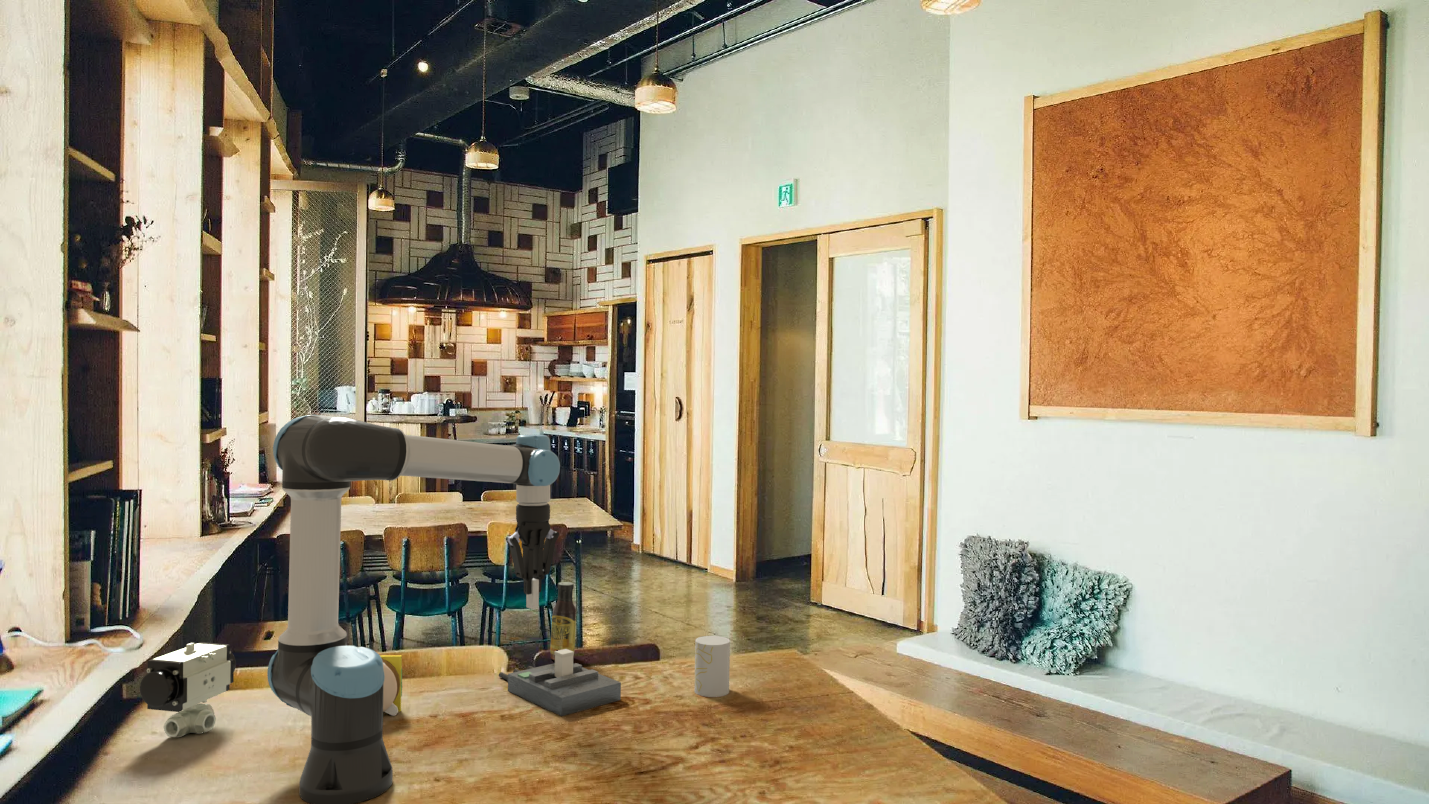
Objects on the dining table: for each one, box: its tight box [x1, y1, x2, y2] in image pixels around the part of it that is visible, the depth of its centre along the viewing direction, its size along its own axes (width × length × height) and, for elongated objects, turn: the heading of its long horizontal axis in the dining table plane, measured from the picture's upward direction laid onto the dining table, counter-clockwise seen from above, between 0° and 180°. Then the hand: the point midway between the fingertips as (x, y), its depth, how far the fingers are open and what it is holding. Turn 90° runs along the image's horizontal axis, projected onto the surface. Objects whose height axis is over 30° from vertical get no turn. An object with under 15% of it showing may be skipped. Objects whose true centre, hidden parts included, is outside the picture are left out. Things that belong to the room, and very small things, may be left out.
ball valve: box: [139, 641, 237, 738], centre depth 184 cm, size 18×8×18 cm, turn 168°
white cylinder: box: [694, 635, 731, 698], centre depth 215 cm, size 8×8×12 cm
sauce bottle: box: [549, 581, 577, 661], centre depth 238 cm, size 6×6×20 cm
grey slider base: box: [498, 662, 622, 717], centre depth 213 cm, size 32×16×5 cm, turn 43°
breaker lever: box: [554, 649, 575, 678], centre depth 210 cm, size 3×3×6 cm
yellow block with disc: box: [379, 654, 403, 716], centre depth 196 cm, size 12×8×12 cm
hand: (532, 607), depth 206 cm, fingers closed
